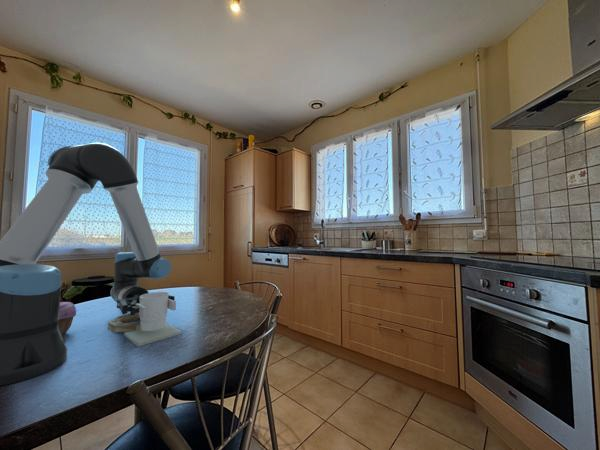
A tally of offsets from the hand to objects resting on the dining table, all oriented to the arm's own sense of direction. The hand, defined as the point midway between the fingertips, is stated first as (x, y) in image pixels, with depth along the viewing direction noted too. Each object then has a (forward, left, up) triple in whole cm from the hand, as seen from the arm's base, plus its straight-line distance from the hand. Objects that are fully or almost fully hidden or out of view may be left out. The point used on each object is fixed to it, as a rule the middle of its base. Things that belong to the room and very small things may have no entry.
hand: (160, 308), depth 74 cm
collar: (+15, +13, -9) cm, 22 cm away
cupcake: (+9, +33, -9) cm, 35 cm away
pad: (+4, +3, -9) cm, 10 cm away
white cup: (+4, +3, -7) cm, 8 cm away
